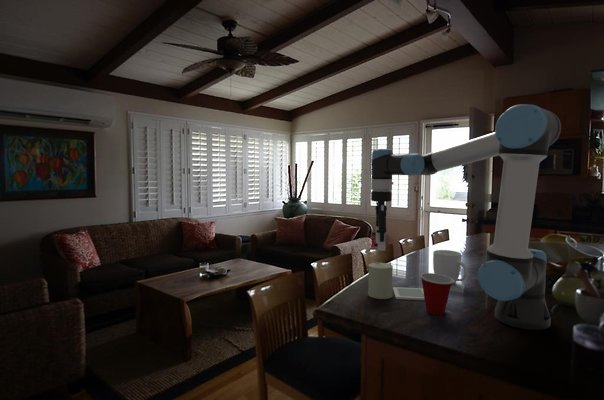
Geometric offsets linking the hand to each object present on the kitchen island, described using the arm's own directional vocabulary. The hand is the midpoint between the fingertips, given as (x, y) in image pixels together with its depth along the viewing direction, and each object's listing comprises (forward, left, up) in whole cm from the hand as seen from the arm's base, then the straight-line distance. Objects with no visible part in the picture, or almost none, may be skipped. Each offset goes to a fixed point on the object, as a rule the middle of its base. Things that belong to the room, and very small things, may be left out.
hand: (380, 246), depth 140 cm
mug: (+19, -30, -19) cm, 40 cm away
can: (0, 0, -19) cm, 19 cm away
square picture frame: (+2, -12, -19) cm, 22 cm away
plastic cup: (-15, -18, -19) cm, 30 cm away
